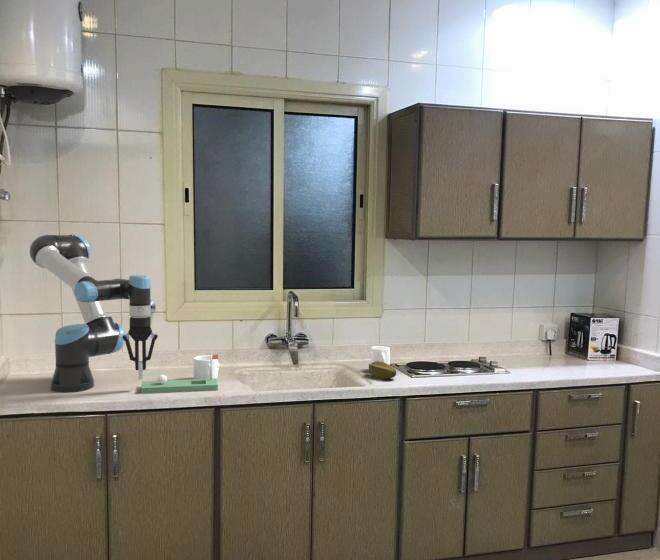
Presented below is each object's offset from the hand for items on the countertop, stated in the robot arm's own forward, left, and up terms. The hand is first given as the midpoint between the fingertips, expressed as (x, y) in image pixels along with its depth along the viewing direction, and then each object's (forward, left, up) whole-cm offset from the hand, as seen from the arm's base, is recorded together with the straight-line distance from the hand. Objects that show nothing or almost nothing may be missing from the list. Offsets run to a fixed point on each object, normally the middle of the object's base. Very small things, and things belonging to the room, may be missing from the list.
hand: (140, 378), depth 225 cm
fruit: (+98, +4, -5) cm, 98 cm away
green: (+14, 0, -5) cm, 15 cm away
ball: (+8, 0, -1) cm, 8 cm away
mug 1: (+25, +11, -5) cm, 28 cm away
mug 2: (+101, +14, -5) cm, 102 cm away
